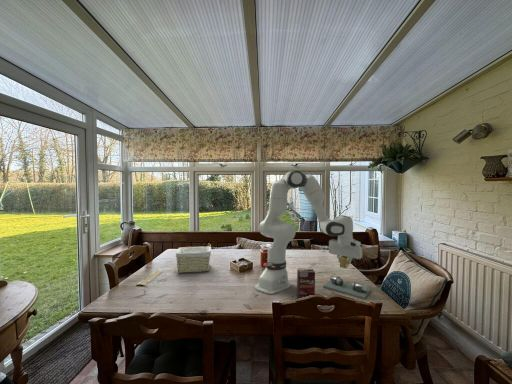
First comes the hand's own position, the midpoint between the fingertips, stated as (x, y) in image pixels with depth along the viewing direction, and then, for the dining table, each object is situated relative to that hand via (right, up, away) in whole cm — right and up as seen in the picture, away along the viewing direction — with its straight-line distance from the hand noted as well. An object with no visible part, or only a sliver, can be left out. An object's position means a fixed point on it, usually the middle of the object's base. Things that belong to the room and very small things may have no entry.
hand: (344, 263), depth 147 cm
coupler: (0, -2, 0) cm, 2 cm away
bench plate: (-3, -12, -10) cm, 16 cm away
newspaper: (-126, -13, +6) cm, 127 cm away
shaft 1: (-7, -12, -5) cm, 15 cm away
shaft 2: (+3, -12, -15) cm, 19 cm away
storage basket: (-101, -12, +23) cm, 104 cm away
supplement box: (-29, -13, -24) cm, 40 cm away
